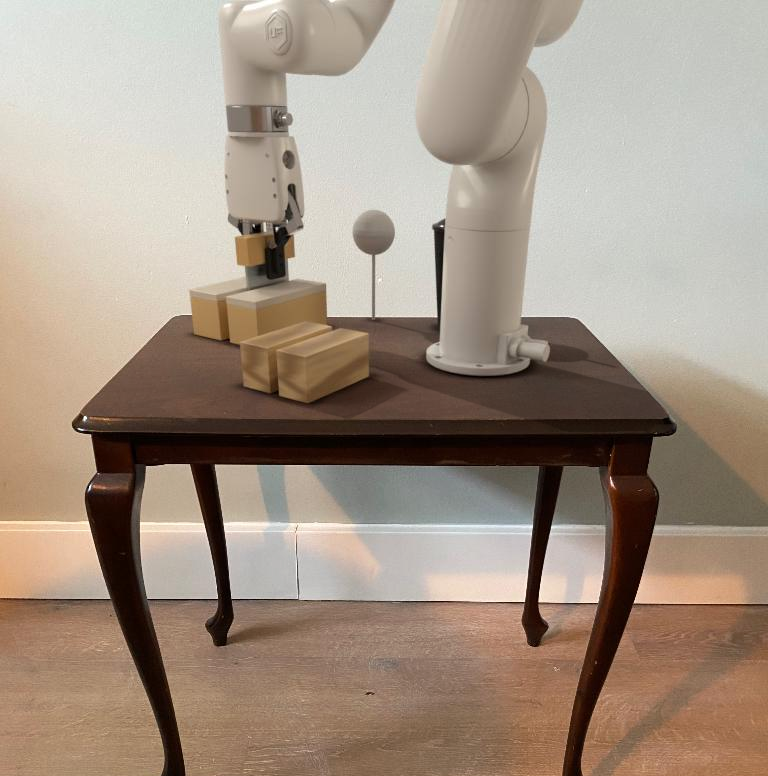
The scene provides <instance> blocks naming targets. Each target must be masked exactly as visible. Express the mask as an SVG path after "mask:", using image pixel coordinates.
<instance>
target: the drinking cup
mask: <svg viewBox="0 0 768 776" xmlns="http://www.w3.org/2000/svg"><path fill="white" fill-rule="evenodd" d="M445 218H446V217H444V218H443V219H440V220H439V221H438V222H435V223H432V225H431V230H433V241H434V267H435V269H434V270H435V292H436V295H435V296H436V315H437V317H436V318H437V320H436V321H437V329H438V330H440V324H441V302H442V280H443V258H444V236H445Z"/></svg>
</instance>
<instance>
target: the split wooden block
mask: <svg viewBox="0 0 768 776" xmlns="http://www.w3.org/2000/svg"><path fill="white" fill-rule="evenodd" d="M239 348H240V358H241V371H242V382H243V387H245V388H248V389H252V390H256V391H260V392H264V393H267V394H272V393H275V392H278V396H279V397H281V398H286V399H290V400H293V401H296V402H297V401H298V402H301V403H304V404H310V403H313V402H314V401H317V400H319V399H321V398H323V397H325V396H328V395H330V394H332V393H335V392H337V391H340V390H342V389H344V388H346V387H348V386H351V385H353V384H355V383H357V382H359V381H363V380H364V379H366V378H368V377H370V333H368V332H363V331H358V330H353V329H348V328H342V327H340V328H337V329H333V326H332V325H328V324H327V325H323V324H318V323H313V322H307V321H305V322H302V323H299V324H295V325H292V326H289V327H286V328H283V329H279V330H276V331H273V332H270V333H267V334H264V335H260V336H257V337H254V338H251V339H248V340H245V341H241V342H240V345H239Z"/></svg>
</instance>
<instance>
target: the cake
mask: <svg viewBox="0 0 768 776" xmlns="http://www.w3.org/2000/svg"><path fill="white" fill-rule="evenodd" d="M188 293H189V301H190V309H191V320H192V326H193V334H194V335H196V336H200V337H204V338H209V339H213V340H217V341H220V342H221V341H225V340H228V339H229V342H230V344H234V345H238V346H240V342H241V341H245V340H248V339H251V338H254V337H257V336H260V335H264V334H267V333H270V332H273V331H276V330H279V329H283V328H286V327H289V326H292V325H295V324H299V323H302V322H305V321H307V322H313V323H318V324H323V325H328V304H327V302H328V300H327V299H328V298H327V283H326V282H321V281H314V280H309V279H301V278H295V279H291V280H290V279H289V281H286V282H282V283H278V284H274V285H270V286H266V287H262V288H258V289H254V290H250V291H247V286H246V276H243V277H239V278H234V279H230V280H229V279H228V280H225V281H220V282H216V283H212V284H208V285H203V286H198V287H194V288H190V289H188Z"/></svg>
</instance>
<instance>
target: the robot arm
mask: <svg viewBox="0 0 768 776" xmlns="http://www.w3.org/2000/svg"><path fill="white" fill-rule="evenodd" d="M395 2H396V0H234V1H228V2H226V3H223V5H221V6H220V9H219V10H218V17H217V18H218V31H219V32H218V33H219V44H220V56H221V67H222V79H223V91H224V104H225V115H226V116H225V117H226V126H227V135H226V137H225V145H224V187H225V199H226V200H225V201H226V207H227V211H228V215H227V222H228V224H230V225H232V226H233V227H234V228H236V229H237V230H238V232H239V233H240V235H241V236H243V235H249V234H255V233H261V232H267V243H268V247H269V248H265V261H266V263H265V264H266V277H267V279H269V280H273V279H277V278H282V277H285V275H286V269H285V252H284V246H287V245H288V240H289V239H290V238H291V236H292V235H293V234H294V235H295V234H297V233H299V232H300V231H302V230H303V229H304V222H303V218H304V216H305V195H304V193H305V192H304V185H303V183H304V182H303V175H302V168H301V167H302V166H301V162H300V156H299V151H298V146H297V142H296V139H295V136H293V135H292V136H291V135H290V130H289V129H290V127H289V126H291V125H292V124H293V122H294V118H293V115H292V114H291V113H290V112H289V110H288V109H289V107H288V90H287V74H290V75H298V76H299V75H300V76H320V77H321V76H322V77H340V76H343V75H346V74H348V73H349V72H350V71H352V70H353V69H355V68H356V67H357V65H358V64H360V62H361V61H362V60H363V58H364V57H365V56H366V54H367V53H368V51H369V50H370V48H371V47H372V45H373V43H374V42H375V41H376V38H377V37H378V35H379V33H381V31H382V28H383V27H384V26H385V23H386V21H387V20H388V18H389V16H390V14H391V11H392V10H393V8H394V5H395ZM583 3H584V0H442V1H441V5H440V9H439V11H438V15H437V18H436V22H435V26H434V29H433V32H432V36H431V39H430V42H429V46H428V49H427V52H426V56H425V58H424V59H425V60H424V63H423V66H422V69H421V72H420V73H421V74H420V77H419V81H418V85H417V89H416V94H415V95H416V96H415V102H414V121H415V127H416V131H417V134H418V137H419V139H420V141H421V144H423V146H424V148H425V149H426V151H427V152H428V153H429V154H430V155H431V156H432V157H434V158H435V159H437V160H438V161H440V162H442V163H444V164H448V165H452V167H451V172H450V177H449V181H448V182H449V183H448V187H447V194H446V203H445V217H444V218H445V236H444V258H443V280H442V302H441V324H440V329H439V341H438V342H435V343H433V344H430V346H428V347H427V349H426V353H425V356H426V357H425V358H426V361H427V363H428V364H430V365H431V366H433V367H434V368H436V369H437V370H441V371H444V372H446V373H447V372H448V373H450V374H451V373H452V374H458V375H463V376H472V377H473V376H474V377H475V376H476V377H495V376H497V377H498V376H505V375H511V374H515V373H518V372H522V371H523V370H525V369H526V368H528V367H529V365H530V363H531V360H532V361H537V362H541V363H546V362H547V361H548V359H549V356H550V352H551V348H550V347H551V346H550V345H549V342H548V341H547V340H543V339H534V338H531V337H530V335H528V334H529V333H528V332H529V325H527V324H522V313H523V302H524V292H525V285H526V284H525V283H526V272H527V265H528V264H527V262H528V253H529V242H530V232H531V225H532V217H533V216H532V215H533V206H534V199H535V198H534V197H535V190H536V182H537V177H538V172H539V165H540V160H541V157H542V151H543V147H544V141H545V136H546V131H547V123H548V104H547V98H546V93H545V90H544V88H543V85H542V83H541V81H540V79H539V78H538V77H537V75H536V74H535V72H533V71H532V69H530V68H529V67H528V66H527V65H528V63H529V60H530V58H531V55H532V53H533V50H534V48H540V47H547V46H550V45H551V44H554V43H555V42H557V41H558V40H560V39H561V38H562V37H563V36H564V35H565V34H566V33H568V32H569V30H570V29H571V28H572V26H573V24H574V23H575V21H576V20H577V18H578V16H579V13H580V11H581V8H582V5H583ZM264 223H265V224H264ZM264 225H265V226H264ZM265 229H266V231H265ZM276 230H278V231H277V232H276Z"/></svg>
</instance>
